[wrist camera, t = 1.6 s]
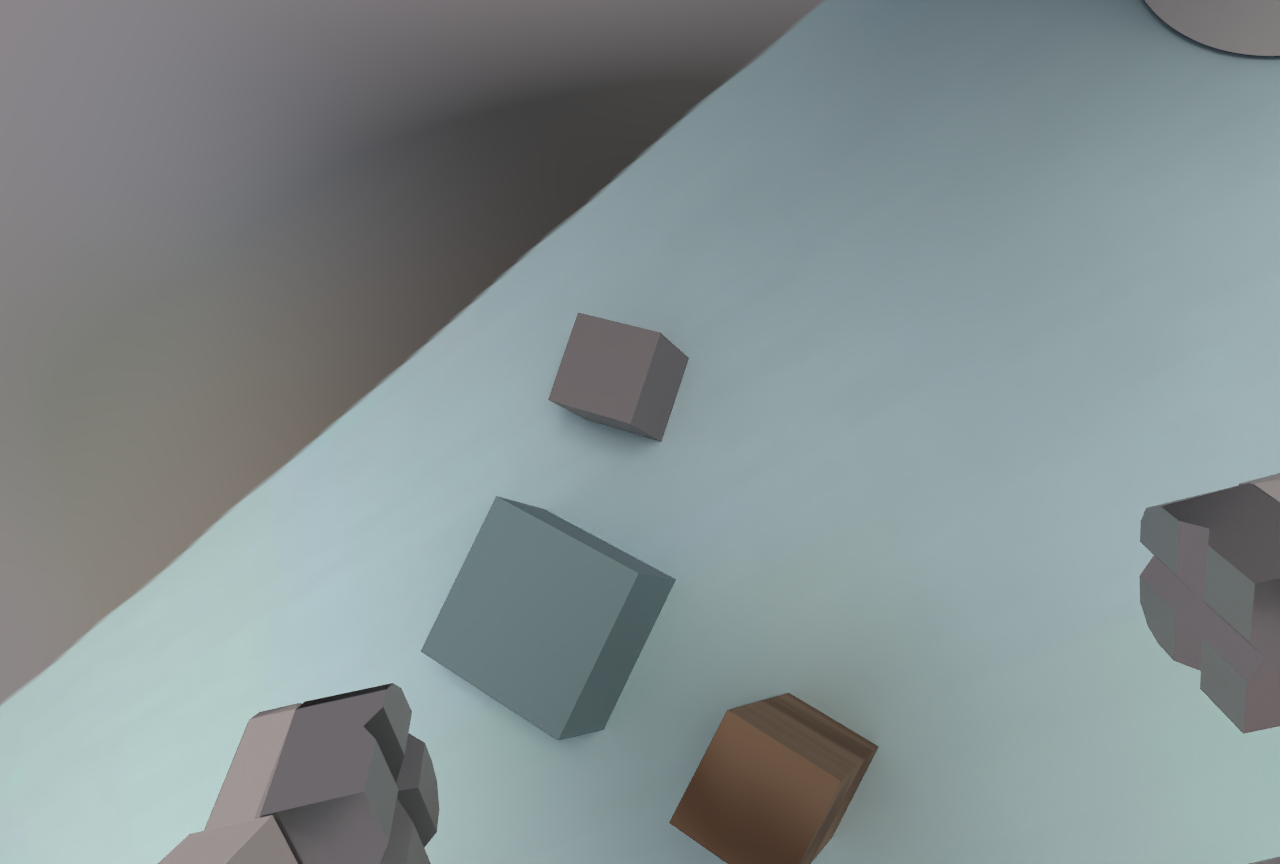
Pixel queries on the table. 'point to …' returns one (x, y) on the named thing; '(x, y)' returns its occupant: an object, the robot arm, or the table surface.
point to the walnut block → (773, 783)
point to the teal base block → (547, 618)
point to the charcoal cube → (619, 376)
